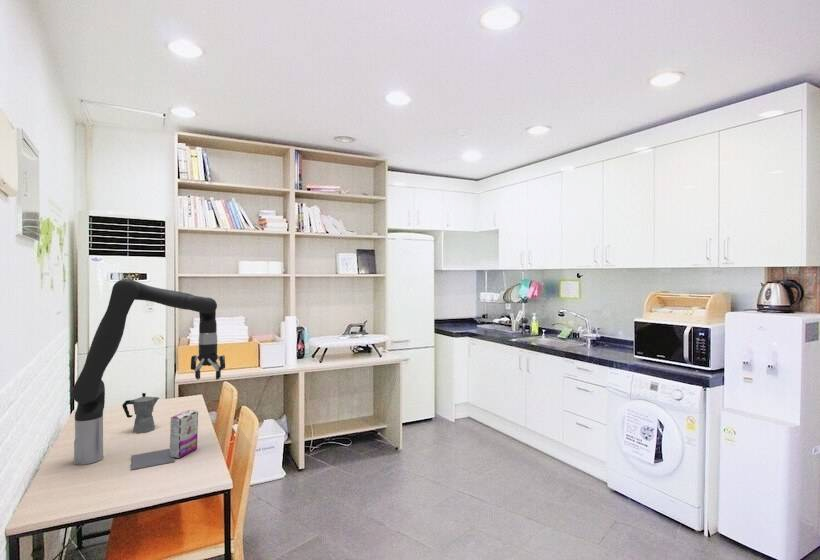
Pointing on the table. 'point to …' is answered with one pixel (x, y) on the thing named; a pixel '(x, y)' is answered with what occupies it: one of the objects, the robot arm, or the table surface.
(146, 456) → the mat
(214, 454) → the table surface
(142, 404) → the coffeepot
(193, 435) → the candy bar box
